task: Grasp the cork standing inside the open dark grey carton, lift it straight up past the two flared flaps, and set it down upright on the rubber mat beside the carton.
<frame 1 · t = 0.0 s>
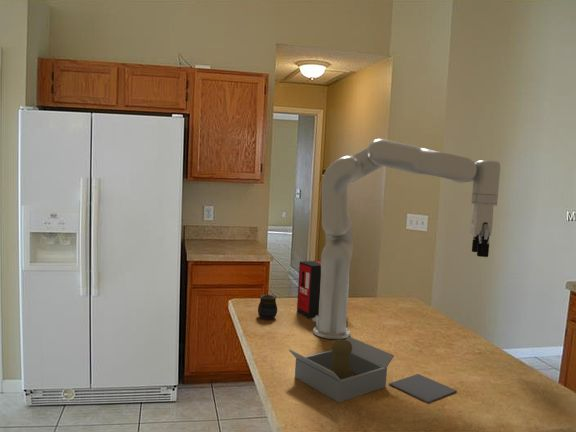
hand: (479, 254, 153), 31 cm above the countertop, tool pointing down, fingers open, 9 cm apart
carton: (339, 381, 126), on the countertop
cork: (339, 382, 126), resting in carton
mate gourd: (267, 318, 179), on the countertop
cleaning product box: (320, 314, 189), on the countertop
rubber mat: (422, 388, 125), on the countertop
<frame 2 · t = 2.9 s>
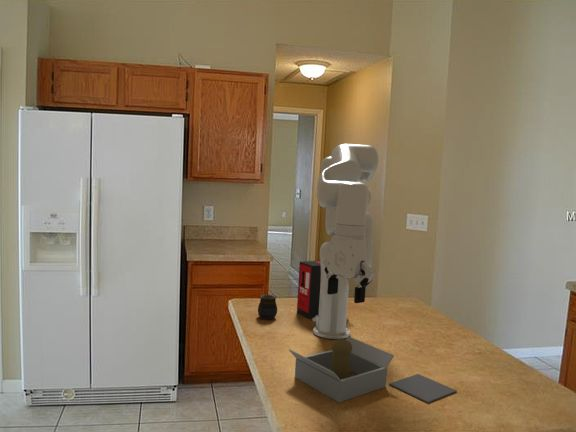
hand: (345, 297, 124), 22 cm above the countertop, tool pointing down, fingers open, 9 cm apart
nothing on the countertop moved.
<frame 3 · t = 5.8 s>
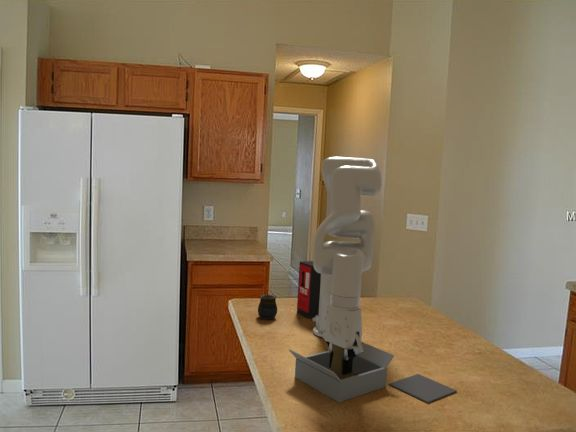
hand: (340, 369, 126), 3 cm above the countertop, tool pointing down, fingers closed on cork, 3 cm apart
cork: (339, 382, 126), resting in carton, touching gripper
everything else where it was.
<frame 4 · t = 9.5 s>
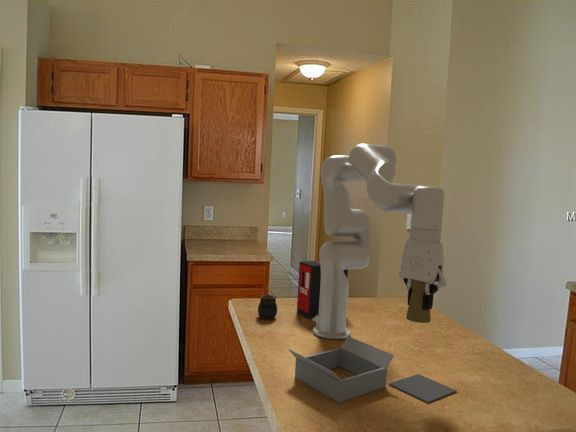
hand: (419, 306, 123), 21 cm above the countertop, tool pointing down, fingers closed on cork, 3 cm apart
cork: (418, 320, 124), point 18 cm above the countertop, touching gripper
everything else where it was.
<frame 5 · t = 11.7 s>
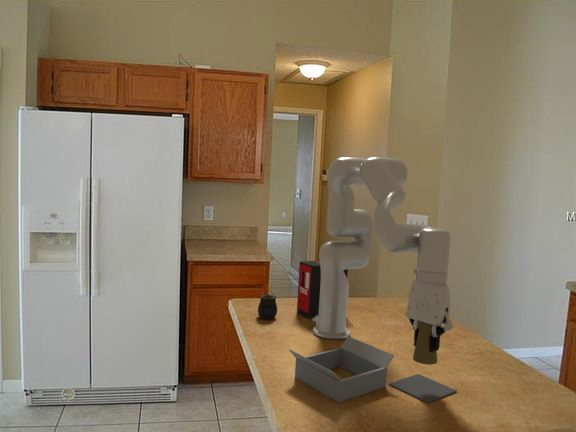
hand: (426, 347, 124), 11 cm above the countertop, tool pointing down, fingers closed on cork, 3 cm apart
cork: (424, 360, 124), point 7 cm above the countertop, touching gripper
everything else where it was.
when the fingers open (5 cm above the countertop, at t = 13.5 s): cork drops 1 cm, resting on rubber mat.
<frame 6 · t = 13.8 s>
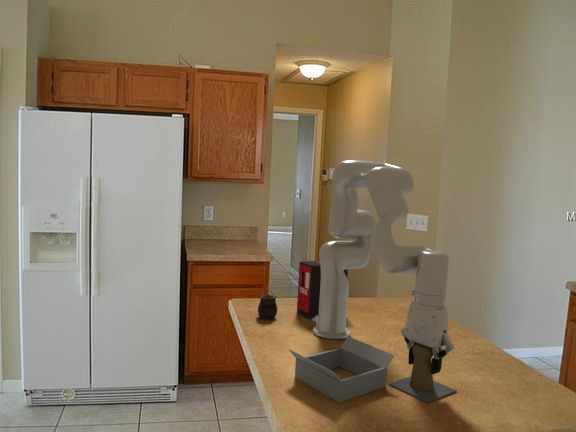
hand: (424, 367, 124), 6 cm above the countertop, tool pointing down, fingers open, 6 cm apart
cork: (421, 387, 125), resting on rubber mat
everything else where it was.
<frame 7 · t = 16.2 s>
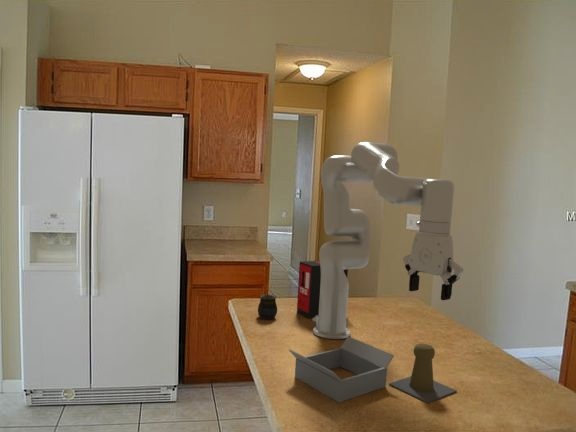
hand: (429, 294, 124), 24 cm above the countertop, tool pointing down, fingers open, 9 cm apart
nothing on the countertop moved.
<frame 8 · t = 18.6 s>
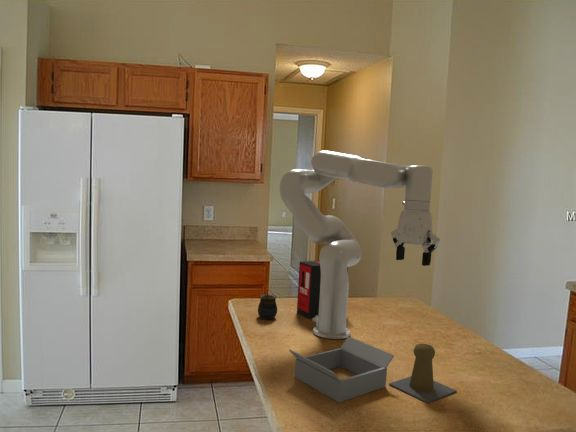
hand: (412, 262, 148), 28 cm above the countertop, tool pointing down, fingers open, 9 cm apart
nothing on the countertop moved.
at the end: cork inside the target area on the rubber mat (0.4 cm from its centre), point 0.2 cm above the rubber mat's base; cork tilted 0°; the gripper is holding nothing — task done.
